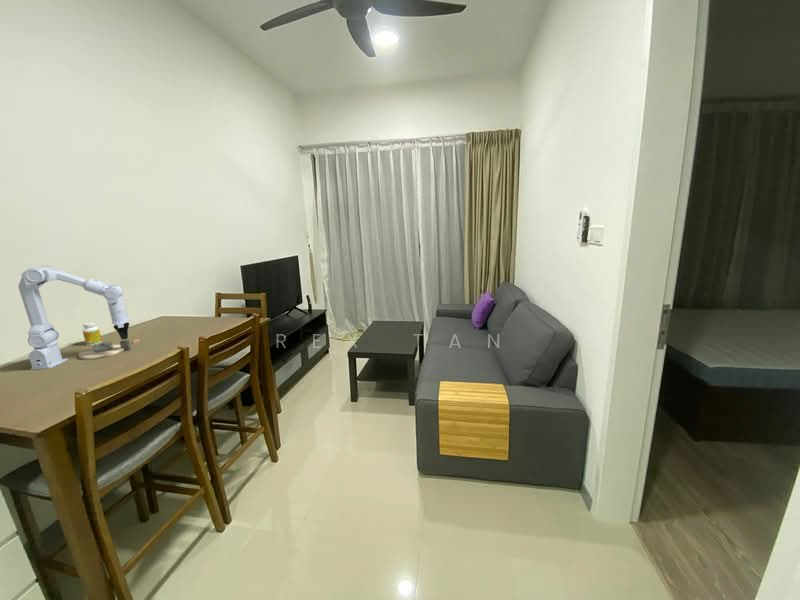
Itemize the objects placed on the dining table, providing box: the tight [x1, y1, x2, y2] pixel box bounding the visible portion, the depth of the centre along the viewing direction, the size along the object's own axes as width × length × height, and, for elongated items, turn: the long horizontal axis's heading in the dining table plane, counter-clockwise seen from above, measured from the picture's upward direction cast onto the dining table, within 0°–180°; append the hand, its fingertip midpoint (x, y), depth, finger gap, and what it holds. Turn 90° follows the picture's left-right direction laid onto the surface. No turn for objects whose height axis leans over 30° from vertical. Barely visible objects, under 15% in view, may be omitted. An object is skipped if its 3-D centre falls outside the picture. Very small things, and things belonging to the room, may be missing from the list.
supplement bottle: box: [82, 321, 103, 346], centre depth 169 cm, size 6×6×11 cm
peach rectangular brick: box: [131, 338, 141, 344], centre depth 169 cm, size 3×1×2 cm, turn 160°
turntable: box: [78, 339, 132, 361], centre depth 156 cm, size 18×20×5 cm
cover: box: [92, 341, 113, 352], centre depth 156 cm, size 7×7×3 cm
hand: (124, 338), depth 154 cm, fingers closed
